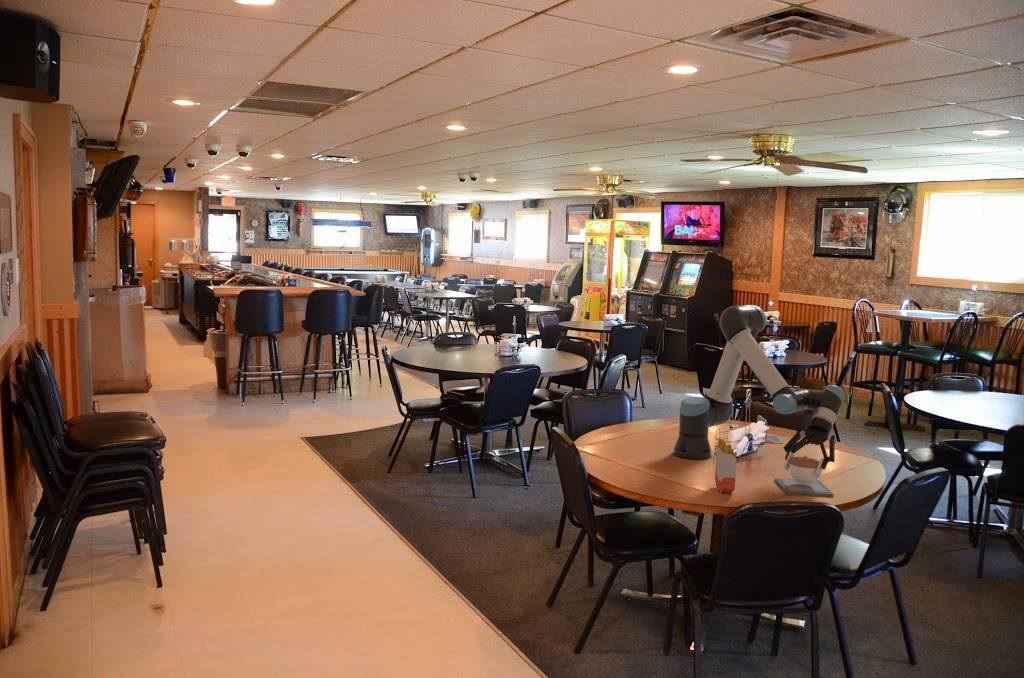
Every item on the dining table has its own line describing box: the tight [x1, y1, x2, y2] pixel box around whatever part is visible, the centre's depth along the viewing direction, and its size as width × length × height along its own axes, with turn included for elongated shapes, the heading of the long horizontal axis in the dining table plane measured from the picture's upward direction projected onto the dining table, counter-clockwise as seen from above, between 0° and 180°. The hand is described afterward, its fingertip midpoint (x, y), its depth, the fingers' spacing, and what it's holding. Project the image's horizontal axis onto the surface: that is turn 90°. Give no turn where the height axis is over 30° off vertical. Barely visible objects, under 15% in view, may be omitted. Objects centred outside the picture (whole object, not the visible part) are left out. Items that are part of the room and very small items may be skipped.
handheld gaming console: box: [756, 414, 784, 443], centre depth 348 cm, size 13×9×10 cm
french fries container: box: [714, 437, 738, 493], centre depth 273 cm, size 5×11×18 cm, turn 0°
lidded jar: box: [788, 455, 820, 484], centre depth 278 cm, size 11×11×9 cm
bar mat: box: [774, 477, 834, 498], centre depth 278 cm, size 16×16×1 cm
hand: (801, 472), depth 276 cm, fingers closed on lidded jar, 11 cm apart
